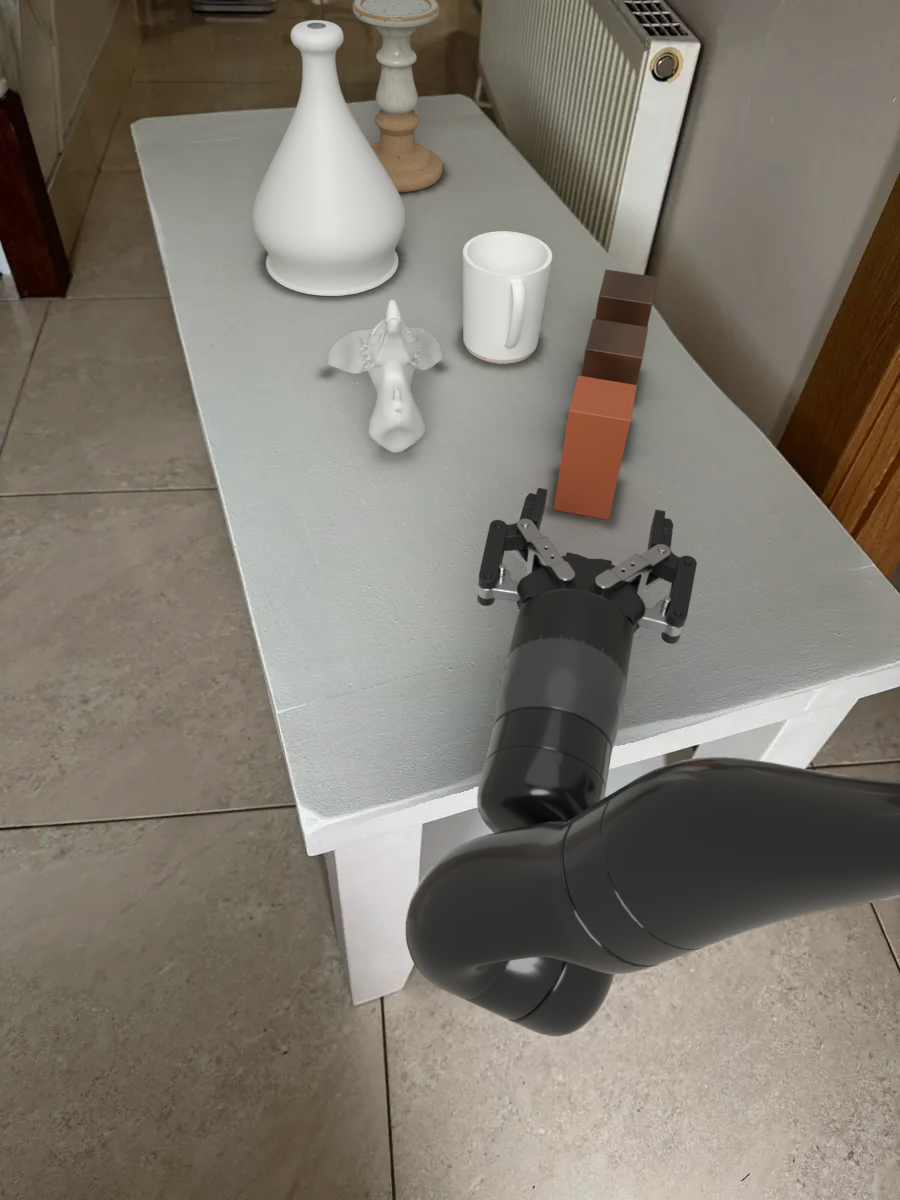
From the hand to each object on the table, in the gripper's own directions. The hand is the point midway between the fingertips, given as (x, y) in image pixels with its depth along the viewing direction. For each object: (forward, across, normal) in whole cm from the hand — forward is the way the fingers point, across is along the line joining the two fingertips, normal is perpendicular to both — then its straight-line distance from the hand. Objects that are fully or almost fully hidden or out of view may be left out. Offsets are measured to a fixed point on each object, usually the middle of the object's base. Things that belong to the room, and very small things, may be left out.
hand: (599, 507), depth 68 cm
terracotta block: (+13, +2, +11) cm, 17 cm away
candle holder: (+71, +36, +11) cm, 80 cm away
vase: (+46, +36, +11) cm, 60 cm away
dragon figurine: (+19, +21, +11) cm, 31 cm away
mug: (+34, +14, +11) cm, 38 cm away
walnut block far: (+31, +2, +11) cm, 33 cm away
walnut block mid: (+22, +1, +11) cm, 25 cm away
